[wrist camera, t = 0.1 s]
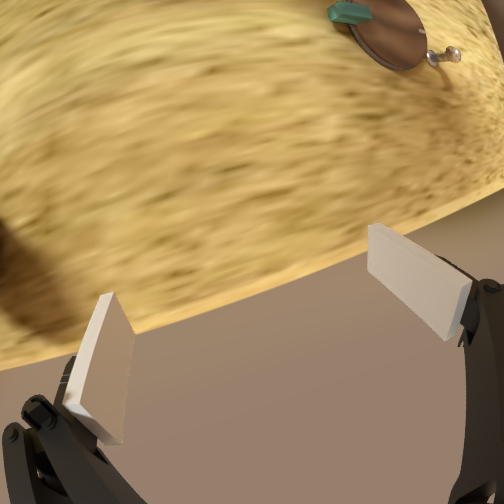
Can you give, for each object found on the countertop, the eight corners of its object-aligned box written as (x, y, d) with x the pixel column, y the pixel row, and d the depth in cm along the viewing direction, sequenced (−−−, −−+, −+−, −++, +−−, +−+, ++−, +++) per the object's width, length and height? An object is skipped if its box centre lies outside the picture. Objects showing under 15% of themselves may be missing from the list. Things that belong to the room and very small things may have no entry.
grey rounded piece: (423, 49, 34) (455, 44, 26) (434, 52, 35) (465, 48, 27) (427, 65, 36) (459, 62, 28) (437, 67, 36) (469, 65, 28)
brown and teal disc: (315, -23, 26) (326, -34, 22) (410, -1, 28) (423, -6, 25) (338, 61, 33) (353, 56, 29) (429, 72, 36) (445, 71, 32)
